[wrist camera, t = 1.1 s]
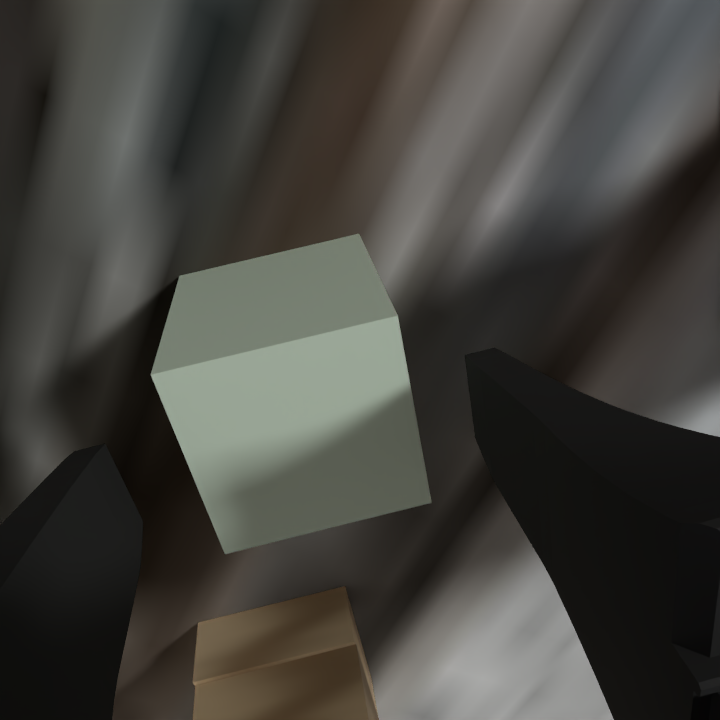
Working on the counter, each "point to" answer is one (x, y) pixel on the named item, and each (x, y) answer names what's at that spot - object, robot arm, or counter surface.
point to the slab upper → (292, 691)
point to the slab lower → (276, 636)
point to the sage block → (291, 394)
